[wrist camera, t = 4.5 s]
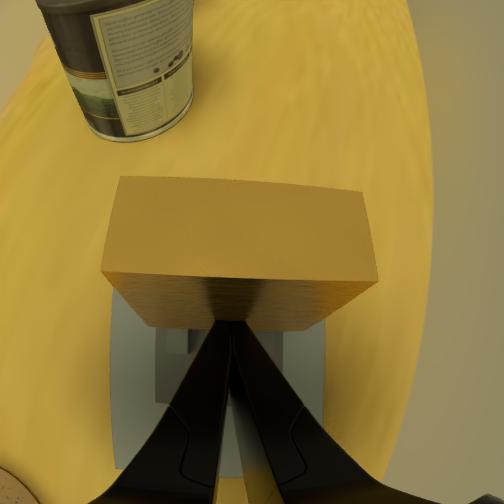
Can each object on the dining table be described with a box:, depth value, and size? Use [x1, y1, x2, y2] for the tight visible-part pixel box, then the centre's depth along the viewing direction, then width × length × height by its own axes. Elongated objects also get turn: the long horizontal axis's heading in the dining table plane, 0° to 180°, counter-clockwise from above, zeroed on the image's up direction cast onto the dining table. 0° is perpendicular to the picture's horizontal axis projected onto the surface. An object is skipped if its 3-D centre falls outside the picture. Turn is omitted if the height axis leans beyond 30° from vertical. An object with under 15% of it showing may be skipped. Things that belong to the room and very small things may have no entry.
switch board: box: [110, 287, 325, 478], centre depth 17 cm, size 16×14×6 cm
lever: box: [100, 176, 378, 337], centre depth 11 cm, size 2×5×12 cm, turn 90°
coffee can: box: [36, 0, 194, 142], centre depth 18 cm, size 10×10×14 cm
